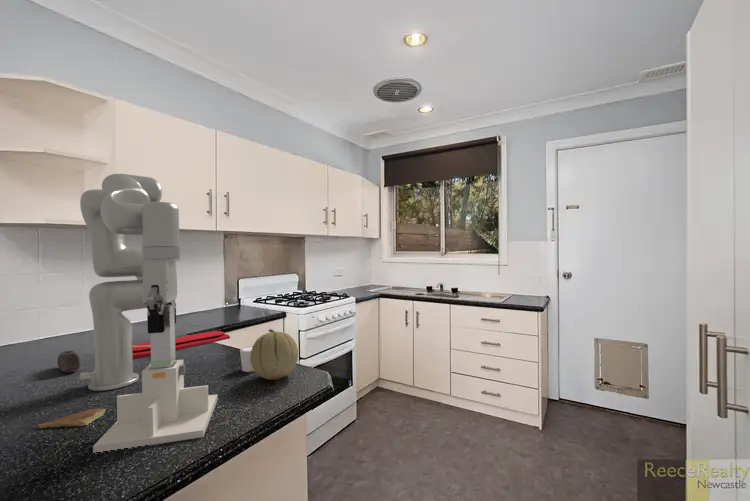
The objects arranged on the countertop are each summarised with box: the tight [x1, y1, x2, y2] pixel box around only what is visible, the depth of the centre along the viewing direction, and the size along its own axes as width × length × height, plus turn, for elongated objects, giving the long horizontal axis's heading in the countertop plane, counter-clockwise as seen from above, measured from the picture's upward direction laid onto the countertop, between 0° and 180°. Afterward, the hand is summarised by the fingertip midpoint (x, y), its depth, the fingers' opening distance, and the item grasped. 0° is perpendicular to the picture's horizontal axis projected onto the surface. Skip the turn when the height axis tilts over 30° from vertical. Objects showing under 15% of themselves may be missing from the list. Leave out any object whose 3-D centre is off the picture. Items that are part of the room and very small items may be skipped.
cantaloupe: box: [250, 328, 299, 381], centre depth 110 cm, size 15×15×15 cm
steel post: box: [149, 304, 177, 369], centre depth 82 cm, size 4×4×18 cm
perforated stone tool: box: [56, 350, 81, 374], centre depth 123 cm, size 15×5×7 cm, turn 49°
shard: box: [36, 408, 106, 429], centre depth 85 cm, size 11×8×2 cm
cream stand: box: [92, 359, 219, 454], centre depth 82 cm, size 20×20×14 cm
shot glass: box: [239, 345, 255, 373], centre depth 120 cm, size 7×7×7 cm
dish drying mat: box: [132, 330, 231, 360], centre depth 153 cm, size 16×41×4 cm, turn 141°
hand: (162, 328), depth 82 cm, fingers open, 9 cm apart
